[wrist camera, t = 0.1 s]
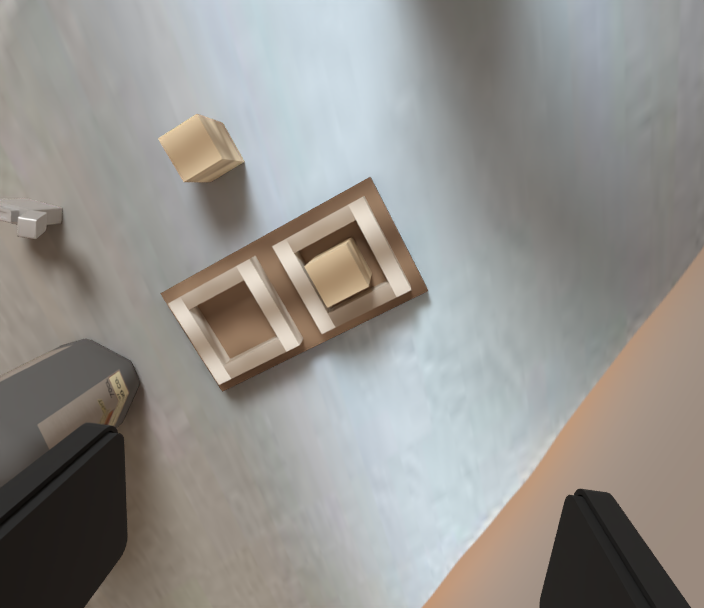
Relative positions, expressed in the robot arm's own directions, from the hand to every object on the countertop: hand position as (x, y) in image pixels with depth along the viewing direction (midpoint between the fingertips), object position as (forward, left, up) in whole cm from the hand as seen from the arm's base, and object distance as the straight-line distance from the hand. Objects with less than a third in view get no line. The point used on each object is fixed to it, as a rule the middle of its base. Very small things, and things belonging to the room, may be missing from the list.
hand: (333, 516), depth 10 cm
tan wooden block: (-16, -9, -37) cm, 42 cm away
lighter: (-19, -27, -37) cm, 50 cm away
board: (-1, -9, -37) cm, 38 cm away
